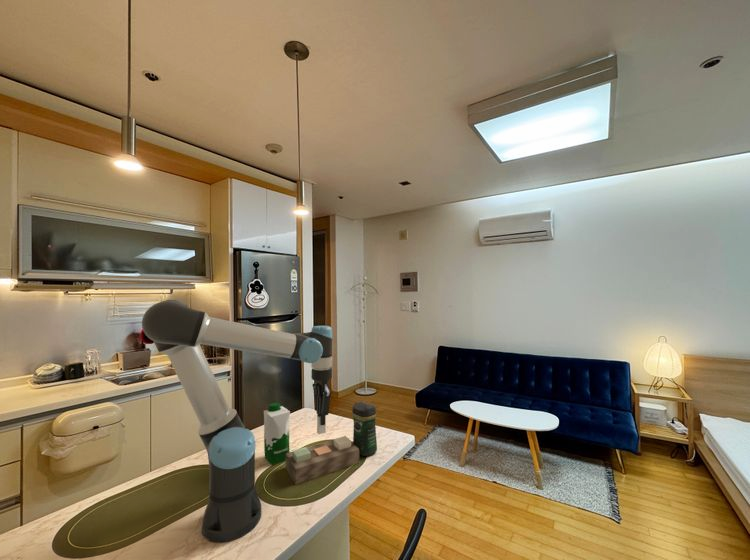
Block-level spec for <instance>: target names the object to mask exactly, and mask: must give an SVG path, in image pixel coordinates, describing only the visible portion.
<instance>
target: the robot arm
mask: <svg viewBox="0 0 750 560" xmlns="http://www.w3.org/2000/svg"><path fill="white" fill-rule="evenodd" d="M142 316H143V317H142V320H141V328H142V332H143V333H144V335H145V336H146V337H147V338H148V339H150V340H151V341H153V344H154V345H155V347H156V349H157V351H158V353H159V354H163V355H165V356H167V358H168V359H169V362H170V364H171V366H172V368H173V369H174V372H175V375H176V376H177V378H178V380H179V382H180V384H181V386H182V388H183V390H184V392H185V394H186V396H187V399H188V400H189V403H190V404H191V407H192V409H193V411H194V412H195V413H194V414H195V415H196V417H197V419H198V421H199V424H200V426H199V427H198V430H197V433H198V436H199V438H200V439H201V441H202V445H203V446H204V447H205V450H206V452H207V460H208V468H209V469H208V470H209V473H208V475H209V478H208V480H209V481H208V483H209V486H208V487H209V489H208V490H209V491H208V492H209V495H208V496H209V497H208V502H207V505H206V508H205V511H204V514H203V516H202V520H201V534H202V536H203V537H204V539H206V540H208V541H210V542H214V543H224V542H229V541H233V540H236V539H238V538H239V539H240V538H241V537H242V536H245V535H246V534H247V533H249V532H251V531H252V530H253V529H254V528H255V527H256V526H257V525H258V524H259V522H260V520H261V518H262V511H263V510H262V503H261V500H260V497H259V494H258V491H257V489H256V452H255V451H256V441H255V435H254V432H252V430H250V429H249V428H246V426H245V425H244V423H243V422H242V420H241V418H240V416H239V414H238V411H237V409H235V408H230V407H229V404H228V403H227V400H226V399H225V396H224V394H223V392H222V390H221V388H220V385H219V384H218V382H217V381H218V380H217V379H216V376H215V375H214V373H213V371H212V369H211V366H210V364H209V362H208V359H207V357H206V356H205V354H204V351H203V349H202V346H201V345H205V346H211V347H216V348H217V347H219V348H222V349H223V348H224V349H230V350H236V351H242V352H249V353H253V354H254V353H256V354H261V355H268V356H273V357H279V358H287V359H290V360H296V361H302V362H303V363H307V364H311V365H310V366H311V368H312V369H311V377H310V378H311V379H312V381H314V383H312V391H313V400H314V401H313V403H314V411H315V412H316V415H317V417H316V418H317V419H316V421H317V422H316V433H317V434H318V435H321V434H325V433H326V432H327V431H326V430H327V428H326V427H327V426H326V425H327V424H326V421H327V418H326V417H327V416H329V414H330V411H329V410H330V404H331V396H332V393H333V392H332V390H330V389H329V380H331V379H333V368H332V366H333V360H334V358H333V330H332V329H333V328H332V327H331V326H329V325H314V326H312V327H311V331H309V332H295V333H292V332H291V333H290V332H286V331H282V330H281V331H280V330H275V329H271V328H265V327H260V326H256V325H252V324H246V323H242V322H237V321H233V320H232V321H231V320H227V319H226V320H225V319H222V318H217V317H213V316H212V317H211V316H209V315H208V313H207V312H206V311H201V310H197V309H194V308H191V307H189V306H188V305H187V304H185V303H184V302H183V301H180V300H176V299H165V300H162V301H159V302H157V303H154V304H153V305H151V306H150V307H149V308H148V309H147V310H146V311H145V312H144V314H143V315H142Z"/></svg>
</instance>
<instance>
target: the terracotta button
mask: <svg viewBox="0 0 750 560" xmlns="http://www.w3.org/2000/svg"><path fill="white" fill-rule="evenodd" d="M314 452H315V453H316V455H317V456H318V457H319V456H322V455H326V454H329V453H332V451H331V450H330V449H329V448H328V447H327V445H326V446H323V447H319V448H316V449H314Z"/></svg>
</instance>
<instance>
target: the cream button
mask: <svg viewBox="0 0 750 560" xmlns="http://www.w3.org/2000/svg"><path fill="white" fill-rule="evenodd" d="M333 440H334V446H335V447H336V448H337V449H338V450H342V449H345V448H349V447H351V442H352V440H351V439H350V438H348V437H347V436H346V435H344V436H340V437H336V438H333Z"/></svg>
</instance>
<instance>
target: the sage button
mask: <svg viewBox="0 0 750 560" xmlns="http://www.w3.org/2000/svg"><path fill="white" fill-rule="evenodd" d="M291 452H292V458H293V460H294V461H295V462H296V463H299V462H303V461H306V460H309V459H311V453H310V451H309V450H308V449H307V446H304V447H301V448H298V449H297V448H296V449H294V450H292V451H291Z"/></svg>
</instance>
